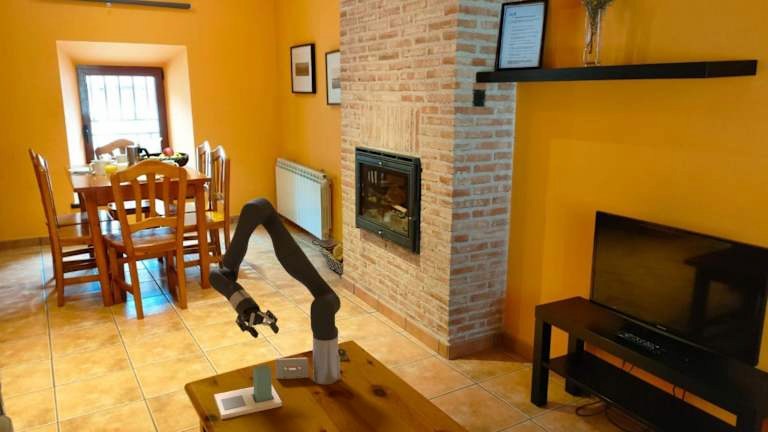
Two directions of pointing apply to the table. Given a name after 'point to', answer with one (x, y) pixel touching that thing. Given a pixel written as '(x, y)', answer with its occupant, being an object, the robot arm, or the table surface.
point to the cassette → (291, 372)
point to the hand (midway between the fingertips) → (267, 334)
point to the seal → (342, 354)
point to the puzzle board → (243, 402)
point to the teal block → (262, 383)
